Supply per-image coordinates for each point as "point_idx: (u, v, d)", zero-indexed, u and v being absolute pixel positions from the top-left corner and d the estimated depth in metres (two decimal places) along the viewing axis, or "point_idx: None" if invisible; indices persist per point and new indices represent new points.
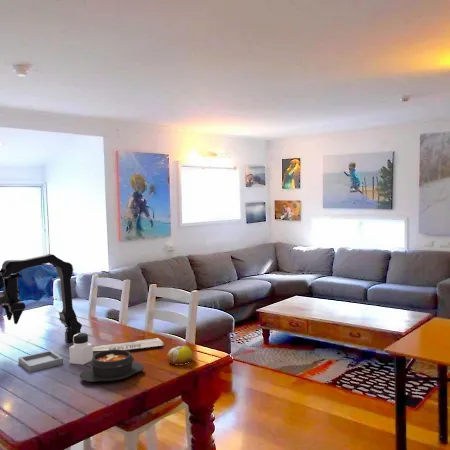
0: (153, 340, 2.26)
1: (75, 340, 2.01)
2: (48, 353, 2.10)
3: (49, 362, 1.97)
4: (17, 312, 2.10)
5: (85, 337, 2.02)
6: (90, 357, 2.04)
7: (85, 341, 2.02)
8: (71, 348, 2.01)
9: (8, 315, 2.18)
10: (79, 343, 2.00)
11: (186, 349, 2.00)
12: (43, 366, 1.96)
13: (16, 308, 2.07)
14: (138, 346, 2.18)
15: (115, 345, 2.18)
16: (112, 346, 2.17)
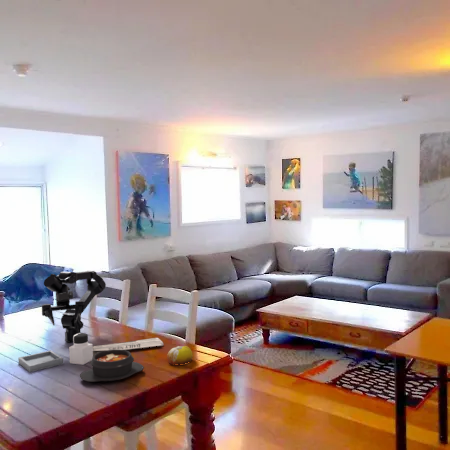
0: (153, 340, 2.26)
1: (75, 340, 2.01)
2: (48, 353, 2.10)
3: (49, 362, 1.97)
4: None
5: (85, 337, 2.02)
6: (90, 357, 2.04)
7: (85, 341, 2.02)
8: (71, 348, 2.01)
9: (53, 320, 2.14)
10: (79, 343, 2.00)
11: (186, 349, 2.00)
12: (43, 366, 1.96)
13: (84, 305, 2.22)
14: (138, 346, 2.18)
15: (115, 345, 2.19)
16: (112, 346, 2.17)
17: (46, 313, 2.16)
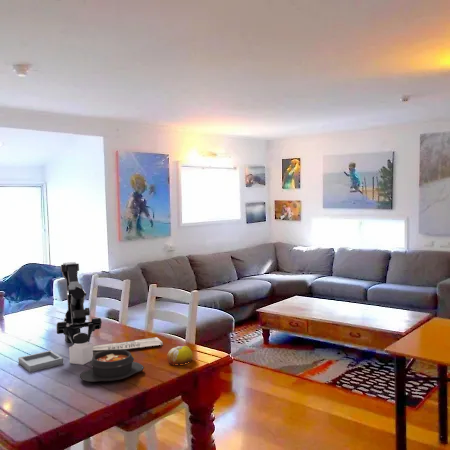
0: (152, 339, 2.27)
1: (75, 340, 2.01)
2: (48, 353, 2.10)
3: (49, 362, 1.97)
4: None
5: (85, 337, 2.02)
6: (90, 357, 2.04)
7: (85, 341, 2.02)
8: (71, 348, 2.01)
9: None
10: (79, 343, 2.00)
11: (186, 349, 2.00)
12: (43, 366, 1.96)
13: None
14: (137, 345, 2.19)
15: (114, 344, 2.19)
16: (111, 345, 2.18)
17: (65, 331, 2.04)
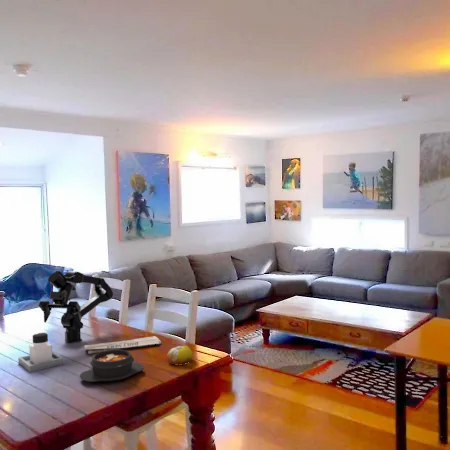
0: (150, 338, 2.29)
1: None
2: None
3: (49, 362, 1.97)
4: (69, 313, 2.20)
5: (41, 337, 1.99)
6: (47, 358, 2.00)
7: (41, 341, 1.99)
8: (30, 346, 2.01)
9: (46, 317, 2.19)
10: (35, 342, 1.99)
11: (186, 349, 2.00)
12: (43, 366, 1.96)
13: (77, 306, 2.21)
14: (136, 344, 2.21)
15: (113, 343, 2.21)
16: (110, 344, 2.20)
17: (43, 309, 2.22)
